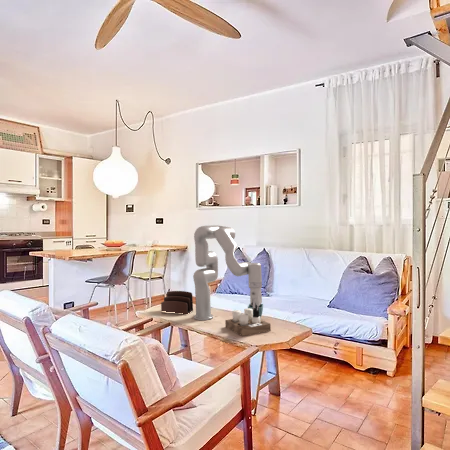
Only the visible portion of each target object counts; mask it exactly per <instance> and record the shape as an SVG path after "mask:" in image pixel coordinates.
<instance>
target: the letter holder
mask: <svg viewBox="0 0 450 450" xmlns="http://www.w3.org/2000/svg"><path fill="white" fill-rule="evenodd" d="M163 300H164V301H161V303H160V308H161V309H160V310H161V311H166V312H175V313H183V314H182V315H184V314H188V313H189V314H191V313H192V312H194V303H193V302H194V299H193V293H192V292H190V291H185V290H170V291H167V292H166V296H165V297H164V298H163ZM161 311H160V312H161ZM191 311H192V312H191ZM190 312H191V313H190ZM189 314H188V315H189Z"/></svg>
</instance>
